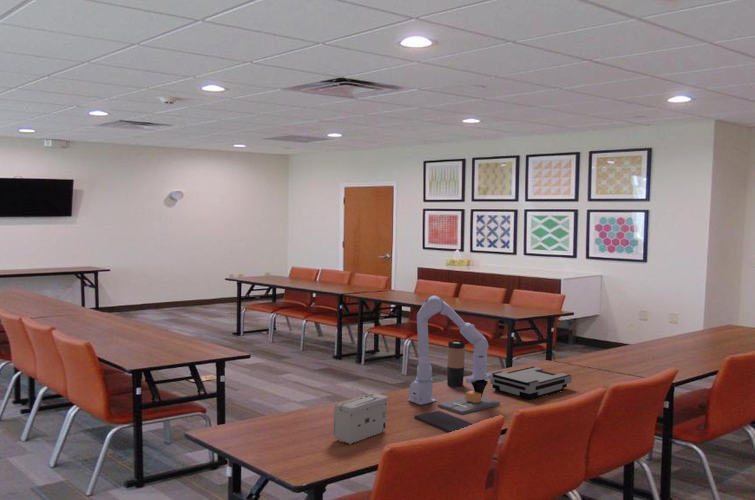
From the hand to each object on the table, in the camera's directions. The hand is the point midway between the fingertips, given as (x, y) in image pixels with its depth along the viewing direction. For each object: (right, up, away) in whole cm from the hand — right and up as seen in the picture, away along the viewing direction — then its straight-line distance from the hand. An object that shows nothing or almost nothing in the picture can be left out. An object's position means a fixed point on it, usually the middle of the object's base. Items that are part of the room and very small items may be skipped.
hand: (478, 397), depth 282 cm
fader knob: (-3, -1, -2) cm, 3 cm away
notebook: (-17, -4, -27) cm, 32 cm away
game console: (+27, -2, +23) cm, 36 cm away
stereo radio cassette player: (-48, -4, -44) cm, 66 cm away
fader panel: (-5, -3, -4) cm, 6 cm away
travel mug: (-7, -1, +29) cm, 29 cm away
